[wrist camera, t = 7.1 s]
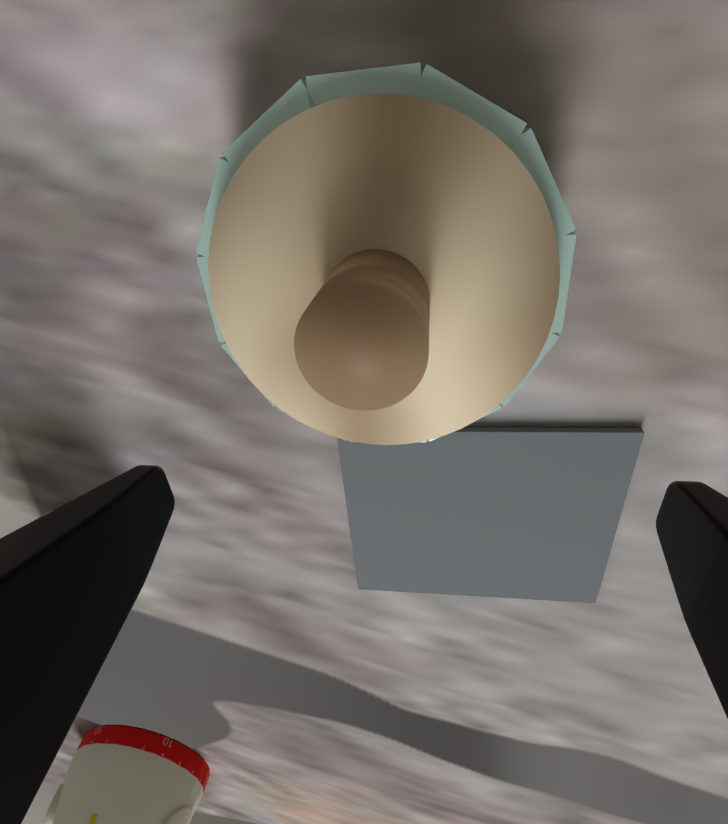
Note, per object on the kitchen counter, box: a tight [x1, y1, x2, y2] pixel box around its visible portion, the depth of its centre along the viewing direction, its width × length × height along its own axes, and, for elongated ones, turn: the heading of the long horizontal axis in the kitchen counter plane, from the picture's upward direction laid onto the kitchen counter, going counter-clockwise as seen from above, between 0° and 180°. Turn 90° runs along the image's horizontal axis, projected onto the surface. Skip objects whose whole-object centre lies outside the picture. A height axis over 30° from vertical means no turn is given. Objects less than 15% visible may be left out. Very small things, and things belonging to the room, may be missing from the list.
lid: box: [208, 93, 560, 445], centre depth 12 cm, size 10×10×4 cm
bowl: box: [196, 63, 577, 443], centre depth 16 cm, size 11×11×4 cm
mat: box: [338, 427, 644, 603], centre depth 25 cm, size 14×12×1 cm
